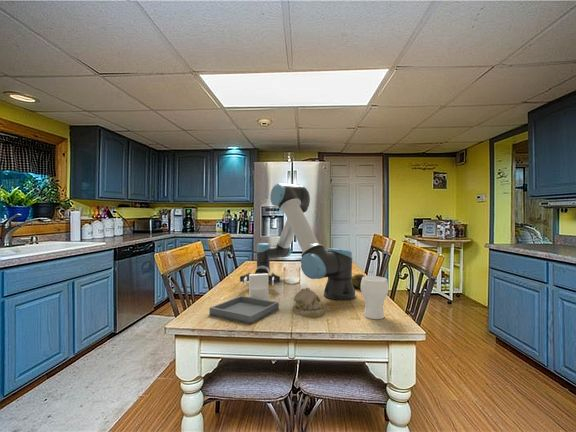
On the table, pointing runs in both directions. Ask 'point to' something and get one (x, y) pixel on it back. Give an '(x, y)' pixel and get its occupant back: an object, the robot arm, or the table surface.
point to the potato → (357, 280)
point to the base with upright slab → (258, 286)
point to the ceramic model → (307, 303)
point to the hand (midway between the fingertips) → (258, 282)
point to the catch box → (244, 309)
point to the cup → (374, 295)
